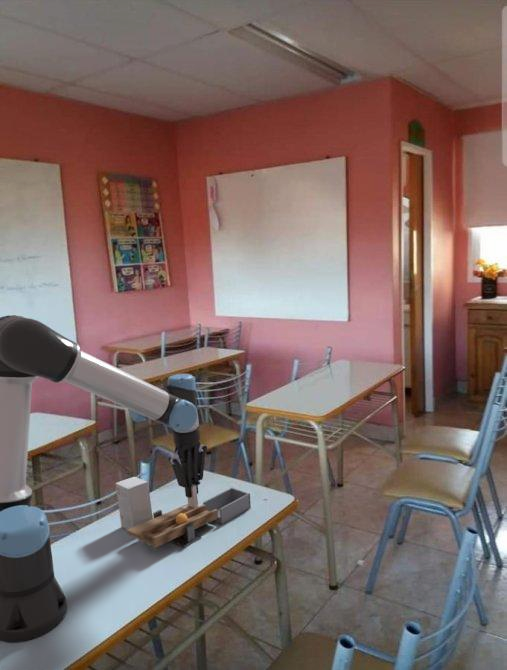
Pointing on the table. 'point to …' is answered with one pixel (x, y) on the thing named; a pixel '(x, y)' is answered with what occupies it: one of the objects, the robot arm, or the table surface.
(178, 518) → the ball
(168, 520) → the seesaw
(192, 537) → the pivot bracket
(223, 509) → the tray
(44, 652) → the table surface
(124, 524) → the small box
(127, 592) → the table surface
